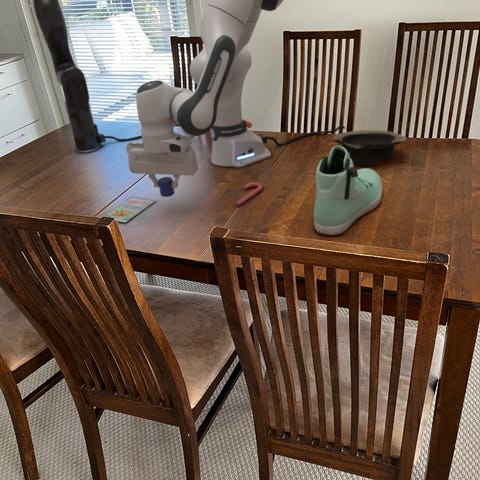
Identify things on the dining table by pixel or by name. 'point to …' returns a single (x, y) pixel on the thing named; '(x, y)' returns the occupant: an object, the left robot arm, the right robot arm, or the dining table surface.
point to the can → (166, 186)
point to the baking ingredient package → (129, 209)
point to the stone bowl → (369, 145)
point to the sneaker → (343, 192)
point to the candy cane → (250, 192)
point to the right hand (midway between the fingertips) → (166, 187)
